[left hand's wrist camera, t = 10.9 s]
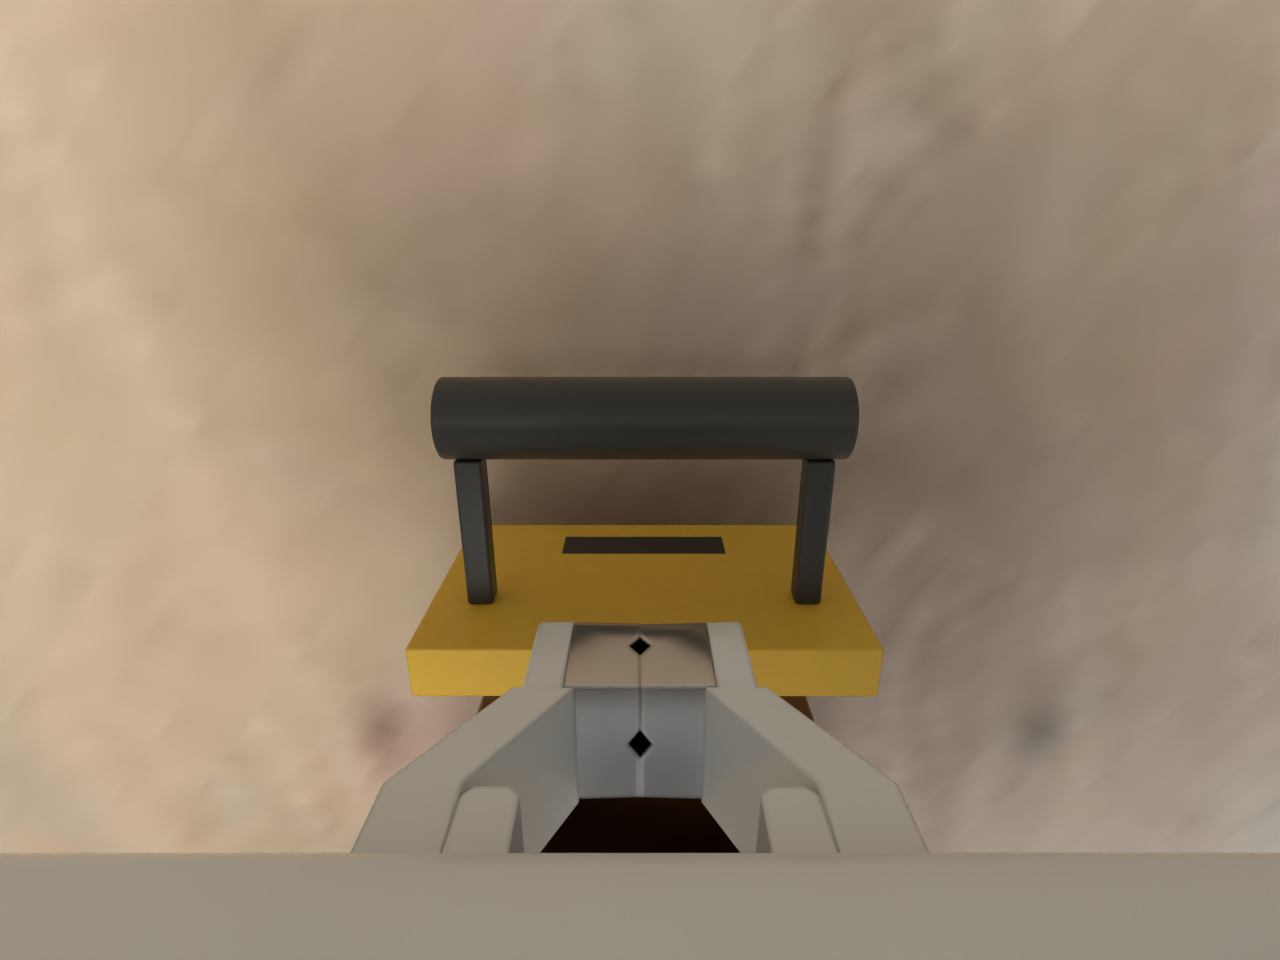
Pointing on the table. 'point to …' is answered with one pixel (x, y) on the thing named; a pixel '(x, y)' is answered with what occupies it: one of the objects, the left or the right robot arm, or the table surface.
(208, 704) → the table surface
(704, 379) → the drawer
